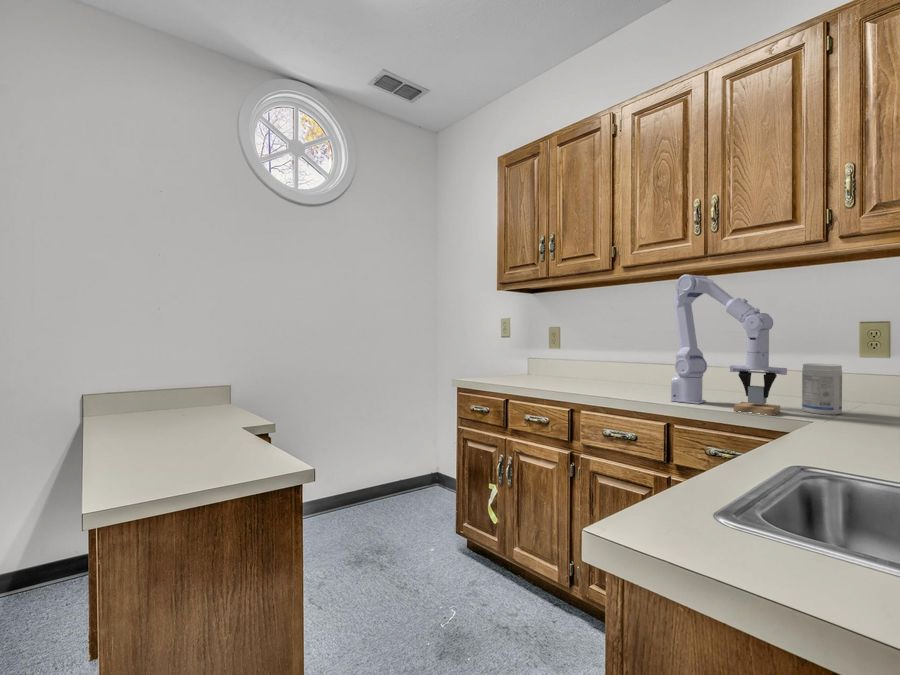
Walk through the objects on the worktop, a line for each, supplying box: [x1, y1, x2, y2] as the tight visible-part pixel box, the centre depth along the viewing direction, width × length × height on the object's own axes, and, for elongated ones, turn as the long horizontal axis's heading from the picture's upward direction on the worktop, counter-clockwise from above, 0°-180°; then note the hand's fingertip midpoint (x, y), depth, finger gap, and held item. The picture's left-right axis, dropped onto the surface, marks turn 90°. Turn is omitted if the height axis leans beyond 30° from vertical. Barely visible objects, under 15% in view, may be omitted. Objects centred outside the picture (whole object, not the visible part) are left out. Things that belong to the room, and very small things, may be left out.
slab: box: [733, 401, 781, 416], centre depth 142 cm, size 10×10×2 cm
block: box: [747, 385, 767, 404], centre depth 142 cm, size 4×4×5 cm
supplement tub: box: [801, 362, 843, 416], centre depth 141 cm, size 10×10×15 cm
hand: (757, 396), depth 142 cm, fingers closed on block, 4 cm apart
